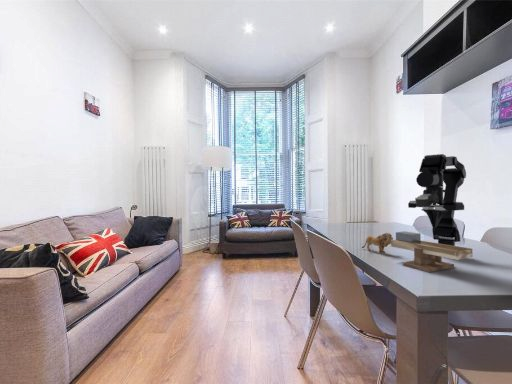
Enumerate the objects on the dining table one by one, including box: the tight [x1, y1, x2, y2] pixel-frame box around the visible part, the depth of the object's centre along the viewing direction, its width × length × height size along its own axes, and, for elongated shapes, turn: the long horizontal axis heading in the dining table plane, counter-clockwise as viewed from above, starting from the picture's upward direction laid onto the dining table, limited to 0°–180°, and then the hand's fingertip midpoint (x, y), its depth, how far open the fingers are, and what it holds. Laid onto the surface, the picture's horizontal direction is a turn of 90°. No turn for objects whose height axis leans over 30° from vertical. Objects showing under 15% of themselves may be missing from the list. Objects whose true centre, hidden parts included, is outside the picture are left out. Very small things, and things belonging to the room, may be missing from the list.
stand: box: [402, 248, 455, 273], centre depth 106 cm, size 14×10×7 cm
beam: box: [390, 239, 474, 261], centre depth 106 cm, size 8×25×3 cm, turn 25°
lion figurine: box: [361, 232, 394, 255], centre depth 131 cm, size 15×5×9 cm, turn 38°
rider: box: [395, 231, 422, 244], centre depth 113 cm, size 5×7×4 cm
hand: (434, 227), depth 113 cm, fingers closed
